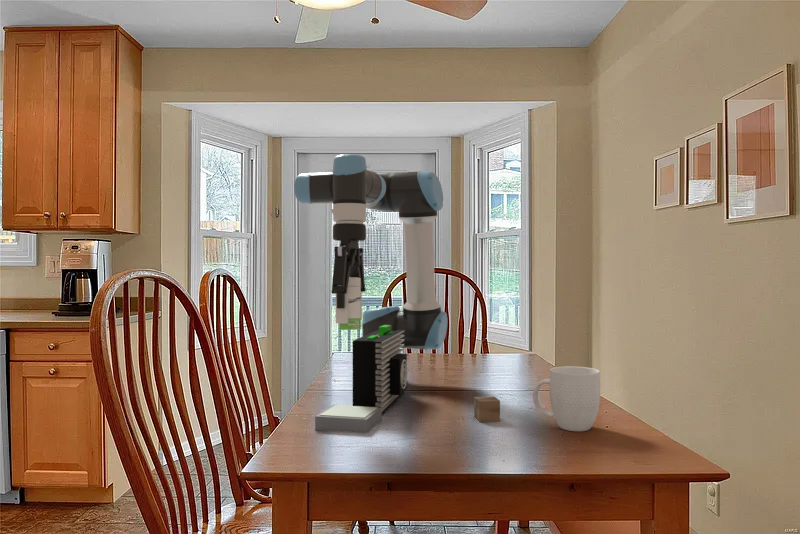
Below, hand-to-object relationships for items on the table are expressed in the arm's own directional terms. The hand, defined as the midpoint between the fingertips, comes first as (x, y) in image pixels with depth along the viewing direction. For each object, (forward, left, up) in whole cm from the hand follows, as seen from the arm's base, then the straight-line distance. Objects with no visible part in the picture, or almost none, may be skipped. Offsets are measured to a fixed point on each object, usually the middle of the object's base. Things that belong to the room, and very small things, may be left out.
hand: (349, 321), depth 149 cm
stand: (0, 0, -24) cm, 24 cm away
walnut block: (-13, +30, -24) cm, 40 cm away
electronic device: (-24, +2, -24) cm, 34 cm away
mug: (-10, +49, -24) cm, 55 cm away
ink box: (0, 0, -2) cm, 2 cm away
